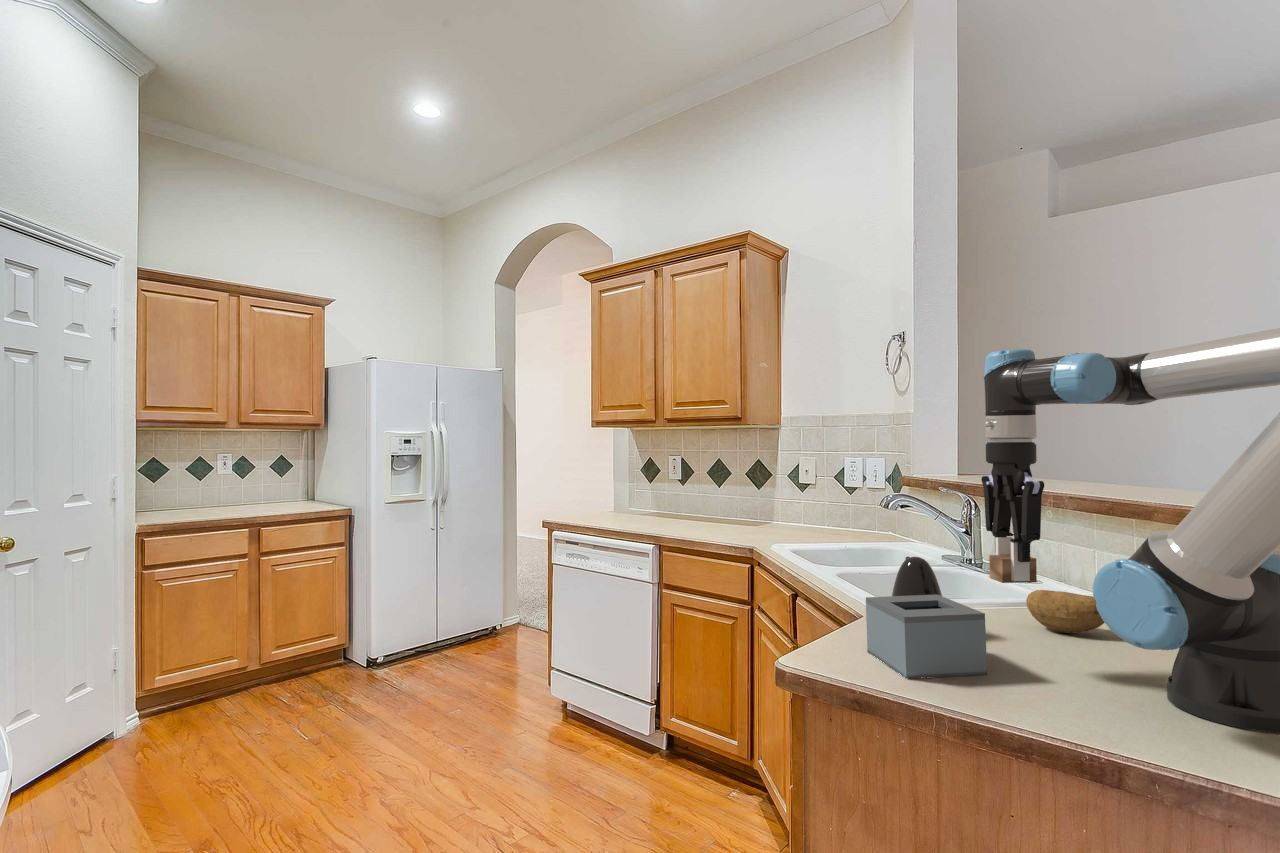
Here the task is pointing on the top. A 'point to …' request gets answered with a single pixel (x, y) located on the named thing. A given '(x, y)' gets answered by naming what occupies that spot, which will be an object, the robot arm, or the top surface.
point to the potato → (1064, 611)
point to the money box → (926, 636)
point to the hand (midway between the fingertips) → (1012, 577)
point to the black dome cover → (915, 579)
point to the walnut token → (1008, 569)
